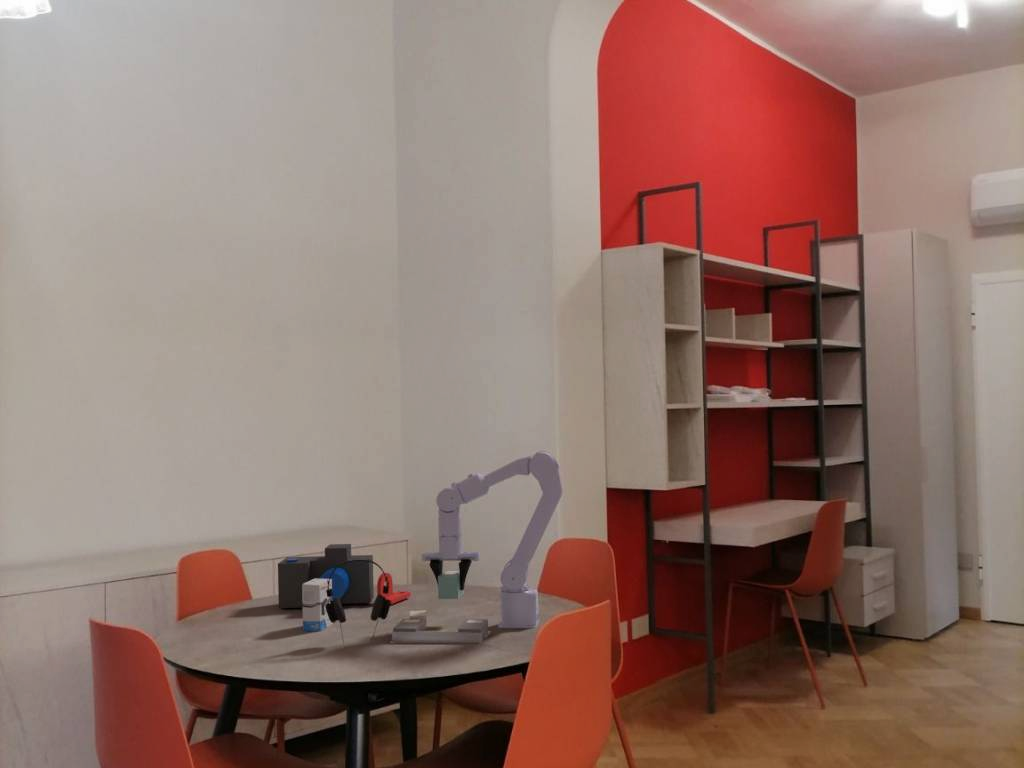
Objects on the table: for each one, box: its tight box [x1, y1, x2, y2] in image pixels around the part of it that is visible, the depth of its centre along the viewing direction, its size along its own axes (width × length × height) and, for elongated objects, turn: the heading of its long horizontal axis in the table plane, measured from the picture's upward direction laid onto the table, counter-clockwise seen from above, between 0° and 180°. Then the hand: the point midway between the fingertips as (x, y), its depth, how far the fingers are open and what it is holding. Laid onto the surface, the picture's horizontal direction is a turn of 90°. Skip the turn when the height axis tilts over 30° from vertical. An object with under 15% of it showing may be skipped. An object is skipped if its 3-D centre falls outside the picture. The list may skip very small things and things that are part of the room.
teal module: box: [437, 570, 465, 600], centre depth 236 cm, size 5×8×6 cm, turn 172°
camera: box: [277, 543, 375, 609], centre depth 265 cm, size 25×16×16 cm, turn 90°
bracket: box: [376, 572, 411, 605], centre depth 271 cm, size 12×4×8 cm, turn 158°
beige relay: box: [409, 609, 427, 630], centre depth 234 cm, size 4×6×4 cm, turn 6°
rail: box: [391, 630, 483, 644], centre depth 218 cm, size 21×1×2 cm, turn 82°
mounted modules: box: [392, 618, 489, 642], centre depth 223 cm, size 21×10×3 cm, turn 82°
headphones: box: [325, 559, 391, 643], centre depth 222 cm, size 15×11×20 cm
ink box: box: [302, 579, 334, 632], centre depth 238 cm, size 8×5×12 cm, turn 168°
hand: (451, 589), depth 236 cm, fingers closed on teal module, 5 cm apart
